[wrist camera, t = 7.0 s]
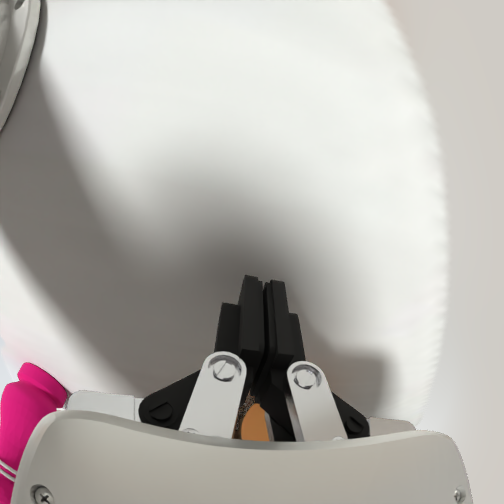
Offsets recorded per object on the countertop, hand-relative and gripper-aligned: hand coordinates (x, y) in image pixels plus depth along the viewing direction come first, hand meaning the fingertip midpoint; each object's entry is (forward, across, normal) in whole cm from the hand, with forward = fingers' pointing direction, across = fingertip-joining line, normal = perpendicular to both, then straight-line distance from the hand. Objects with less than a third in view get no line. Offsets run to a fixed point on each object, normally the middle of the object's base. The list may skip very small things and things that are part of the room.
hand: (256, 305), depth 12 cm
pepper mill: (+2, +20, +19) cm, 27 cm away
